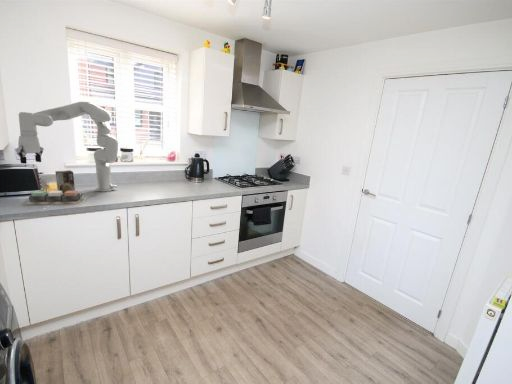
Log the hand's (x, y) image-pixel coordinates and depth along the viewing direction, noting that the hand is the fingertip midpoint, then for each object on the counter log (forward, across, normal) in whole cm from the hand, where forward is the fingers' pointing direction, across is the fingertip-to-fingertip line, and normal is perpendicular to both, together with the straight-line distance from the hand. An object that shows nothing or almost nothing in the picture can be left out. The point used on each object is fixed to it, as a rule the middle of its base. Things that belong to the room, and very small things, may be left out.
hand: (31, 162), depth 159 cm
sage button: (+22, -1, +2) cm, 22 cm away
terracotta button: (+22, -8, +18) cm, 29 cm away
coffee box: (+24, -23, +2) cm, 34 cm away
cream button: (+22, -5, +10) cm, 24 cm away
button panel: (+25, -5, +10) cm, 27 cm away
